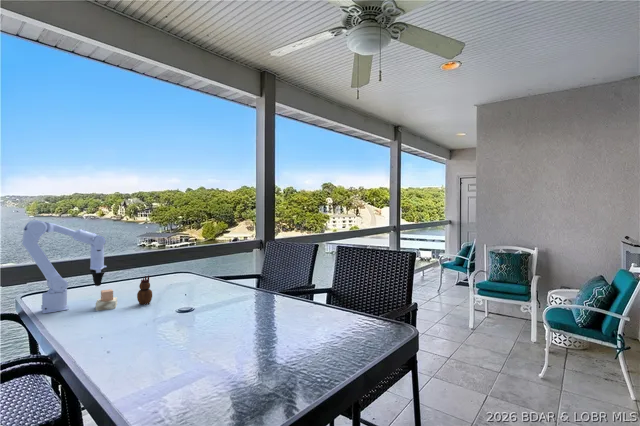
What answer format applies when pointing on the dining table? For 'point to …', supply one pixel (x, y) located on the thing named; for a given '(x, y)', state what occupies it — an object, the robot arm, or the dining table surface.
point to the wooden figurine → (144, 292)
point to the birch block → (106, 304)
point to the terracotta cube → (106, 295)
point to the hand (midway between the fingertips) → (97, 284)
